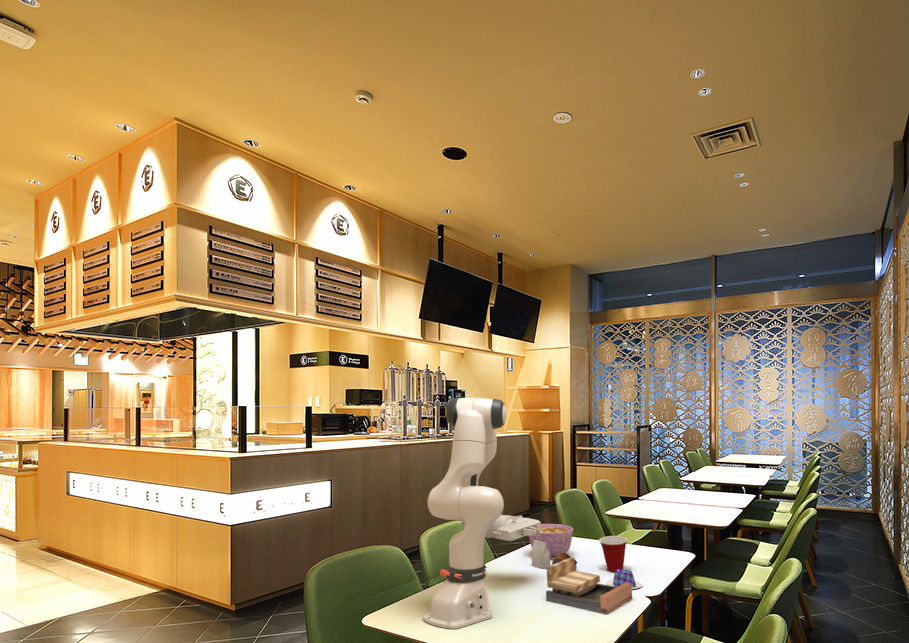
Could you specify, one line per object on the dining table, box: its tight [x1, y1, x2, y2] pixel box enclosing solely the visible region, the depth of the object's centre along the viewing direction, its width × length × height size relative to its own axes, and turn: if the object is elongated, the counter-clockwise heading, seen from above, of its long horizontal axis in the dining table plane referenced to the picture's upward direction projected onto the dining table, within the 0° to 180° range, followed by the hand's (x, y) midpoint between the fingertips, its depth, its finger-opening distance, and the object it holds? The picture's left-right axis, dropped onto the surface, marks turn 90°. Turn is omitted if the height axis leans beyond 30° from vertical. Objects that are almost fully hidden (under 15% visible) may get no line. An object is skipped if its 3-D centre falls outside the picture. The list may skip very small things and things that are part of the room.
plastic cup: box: [598, 535, 628, 574], centre depth 232 cm, size 11×11×12 cm
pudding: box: [606, 568, 643, 590], centre depth 213 cm, size 12×12×5 cm
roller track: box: [545, 582, 633, 615], centre depth 198 cm, size 18×22×5 cm
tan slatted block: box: [546, 556, 601, 596], centre depth 202 cm, size 16×11×9 cm
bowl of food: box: [527, 523, 574, 558], centre depth 256 cm, size 20×20×12 cm
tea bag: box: [530, 540, 551, 570], centre depth 240 cm, size 4×7×10 cm, turn 37°
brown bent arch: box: [551, 552, 578, 571], centre depth 231 cm, size 12×10×8 cm
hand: (537, 532), depth 213 cm, fingers closed
